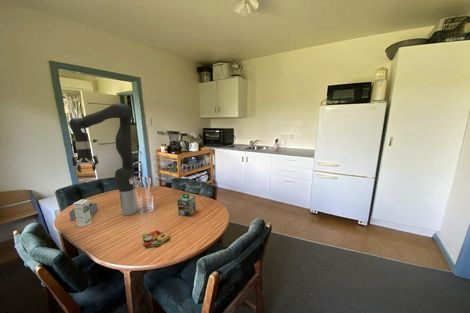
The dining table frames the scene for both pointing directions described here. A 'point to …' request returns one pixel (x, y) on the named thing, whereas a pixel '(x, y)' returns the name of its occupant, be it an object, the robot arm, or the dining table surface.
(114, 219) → the dining table surface
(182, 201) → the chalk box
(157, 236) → the toy food set
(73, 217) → the housing
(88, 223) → the coaster
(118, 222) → the dining table surface
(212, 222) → the dining table surface
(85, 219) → the syrup box
